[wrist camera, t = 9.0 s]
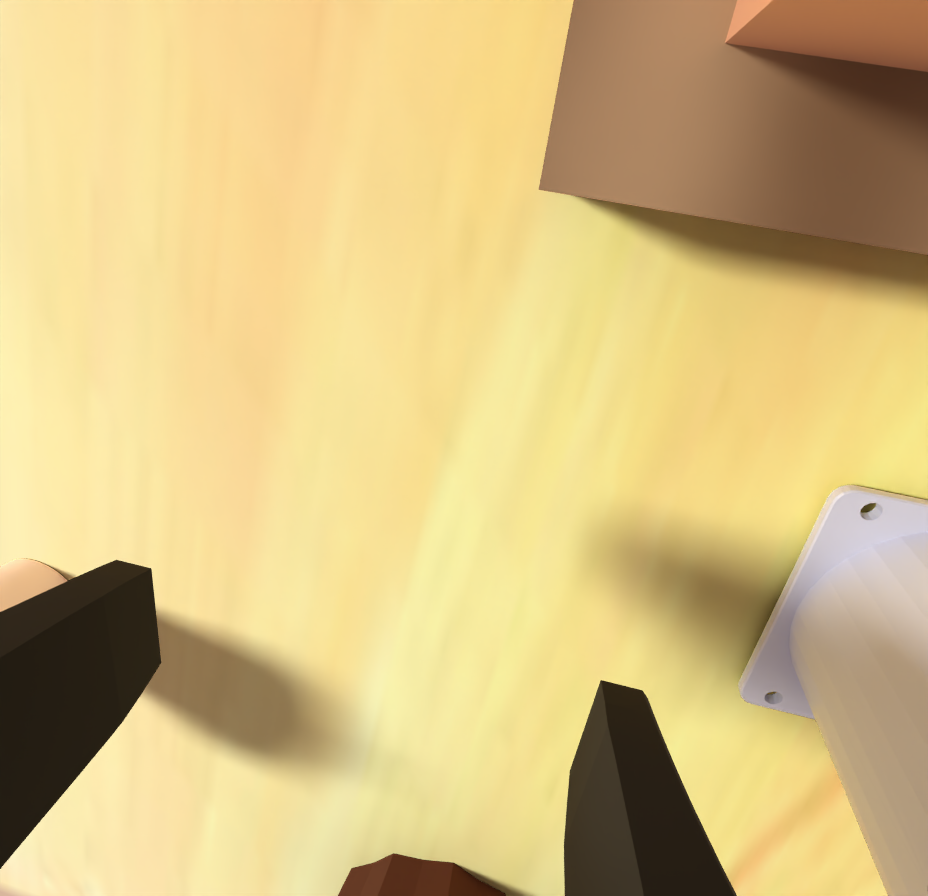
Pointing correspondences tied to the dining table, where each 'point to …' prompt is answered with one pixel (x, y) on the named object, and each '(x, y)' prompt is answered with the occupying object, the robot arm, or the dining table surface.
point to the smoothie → (25, 581)
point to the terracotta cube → (837, 29)
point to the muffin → (413, 879)
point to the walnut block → (736, 127)
